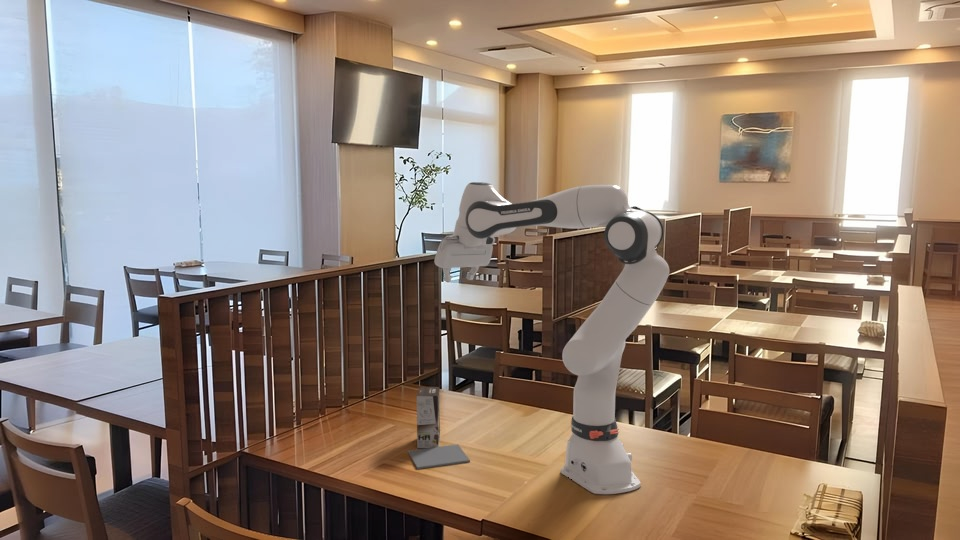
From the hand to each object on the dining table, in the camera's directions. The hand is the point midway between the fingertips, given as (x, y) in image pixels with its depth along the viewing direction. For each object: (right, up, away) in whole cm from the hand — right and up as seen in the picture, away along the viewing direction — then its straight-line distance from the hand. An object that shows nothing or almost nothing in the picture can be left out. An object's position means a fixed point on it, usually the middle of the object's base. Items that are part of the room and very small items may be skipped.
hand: (458, 280), depth 200 cm
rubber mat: (-5, -50, -8) cm, 51 cm away
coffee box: (-9, -49, +3) cm, 50 cm away
